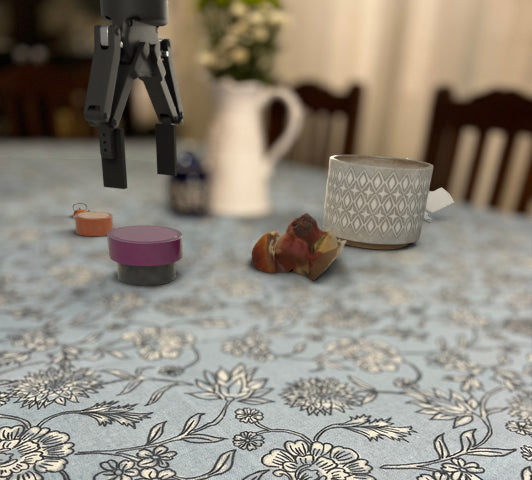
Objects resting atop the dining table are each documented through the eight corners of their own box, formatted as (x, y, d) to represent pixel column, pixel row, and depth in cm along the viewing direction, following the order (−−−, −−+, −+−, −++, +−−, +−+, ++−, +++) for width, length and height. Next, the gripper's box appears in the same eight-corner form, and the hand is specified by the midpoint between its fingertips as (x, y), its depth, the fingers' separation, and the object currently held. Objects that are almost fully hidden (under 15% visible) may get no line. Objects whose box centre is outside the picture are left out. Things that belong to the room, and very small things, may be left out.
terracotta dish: (68, 233, 91) (66, 216, 90) (89, 226, 97) (88, 209, 95) (100, 238, 90) (99, 220, 88) (120, 230, 95) (119, 213, 94)
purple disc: (93, 259, 68) (91, 236, 67) (132, 242, 77) (130, 221, 76) (162, 270, 66) (161, 246, 65) (194, 251, 75) (194, 230, 73)
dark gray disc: (106, 280, 70) (104, 258, 69) (135, 265, 77) (134, 244, 76) (159, 289, 69) (159, 267, 67) (185, 272, 76) (184, 252, 74)
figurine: (402, 253, 121) (436, 225, 127) (427, 223, 110) (463, 194, 116) (357, 209, 123) (393, 184, 129) (378, 176, 113) (415, 150, 118)
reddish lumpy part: (344, 254, 73) (294, 203, 71) (283, 312, 78) (235, 266, 76) (348, 230, 87) (306, 186, 85) (296, 280, 92) (255, 240, 90)
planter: (395, 228, 110) (407, 157, 104) (435, 253, 94) (452, 169, 88) (311, 227, 107) (318, 152, 100) (337, 252, 91) (348, 165, 84)
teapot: (77, 214, 104) (76, 201, 103) (91, 216, 104) (90, 202, 103) (70, 217, 102) (68, 203, 101) (84, 219, 101) (82, 205, 100)
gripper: (100, -48, 46) (118, 198, 55) (207, 2, 67) (207, 172, 77) (28, -47, 48) (57, 191, 57) (155, 1, 69) (161, 168, 79)
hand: (143, 181), depth 67 cm, fingers open, 13 cm apart
